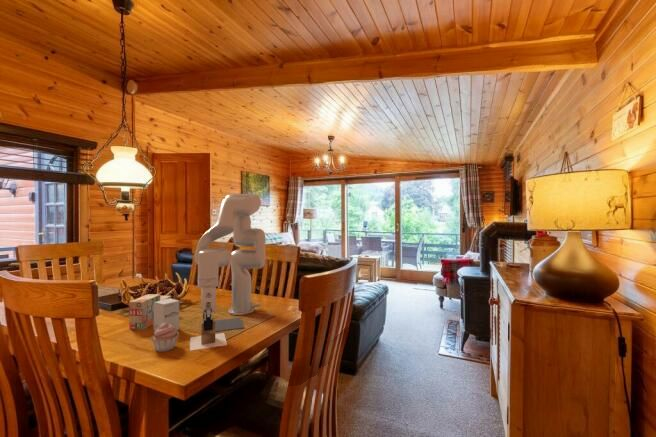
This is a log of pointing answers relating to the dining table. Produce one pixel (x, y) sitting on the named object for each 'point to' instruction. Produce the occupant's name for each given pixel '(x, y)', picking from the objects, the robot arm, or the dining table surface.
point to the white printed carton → (143, 310)
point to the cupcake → (165, 337)
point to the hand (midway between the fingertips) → (207, 326)
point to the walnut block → (207, 333)
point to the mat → (228, 324)
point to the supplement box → (166, 313)
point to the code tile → (219, 341)
